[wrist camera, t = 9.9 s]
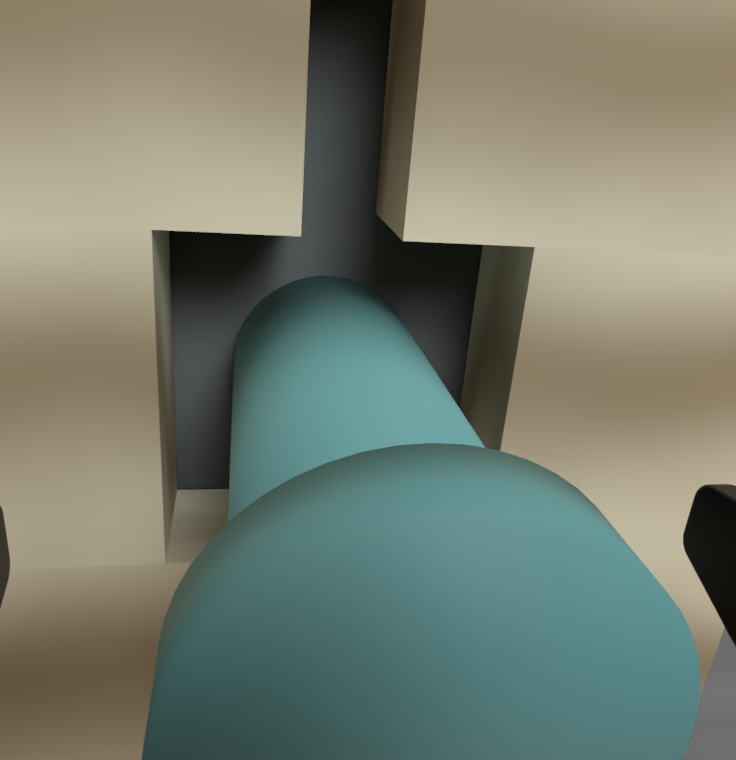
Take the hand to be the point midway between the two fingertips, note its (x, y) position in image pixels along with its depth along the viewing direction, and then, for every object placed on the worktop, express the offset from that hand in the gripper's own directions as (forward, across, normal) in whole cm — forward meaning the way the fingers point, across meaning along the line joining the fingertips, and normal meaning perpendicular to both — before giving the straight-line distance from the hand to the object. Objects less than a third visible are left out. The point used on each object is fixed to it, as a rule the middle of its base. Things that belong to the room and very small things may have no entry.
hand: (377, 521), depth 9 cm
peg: (+6, 0, 0) cm, 6 cm away
